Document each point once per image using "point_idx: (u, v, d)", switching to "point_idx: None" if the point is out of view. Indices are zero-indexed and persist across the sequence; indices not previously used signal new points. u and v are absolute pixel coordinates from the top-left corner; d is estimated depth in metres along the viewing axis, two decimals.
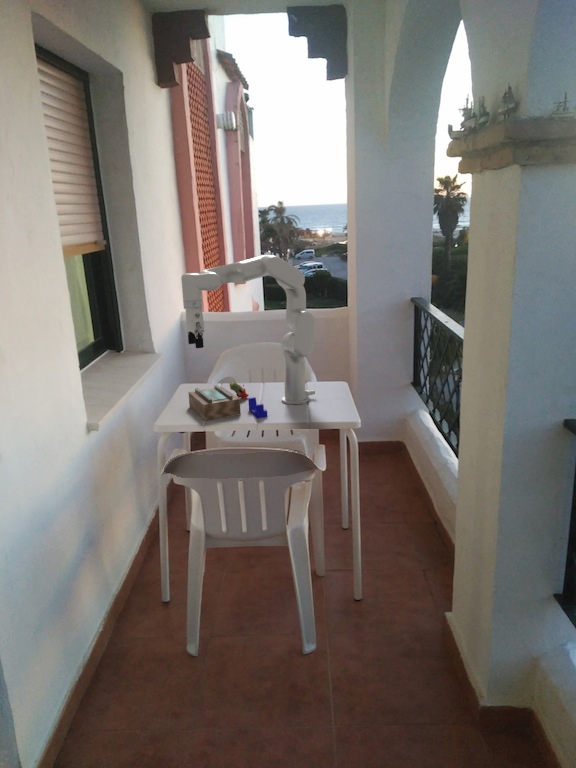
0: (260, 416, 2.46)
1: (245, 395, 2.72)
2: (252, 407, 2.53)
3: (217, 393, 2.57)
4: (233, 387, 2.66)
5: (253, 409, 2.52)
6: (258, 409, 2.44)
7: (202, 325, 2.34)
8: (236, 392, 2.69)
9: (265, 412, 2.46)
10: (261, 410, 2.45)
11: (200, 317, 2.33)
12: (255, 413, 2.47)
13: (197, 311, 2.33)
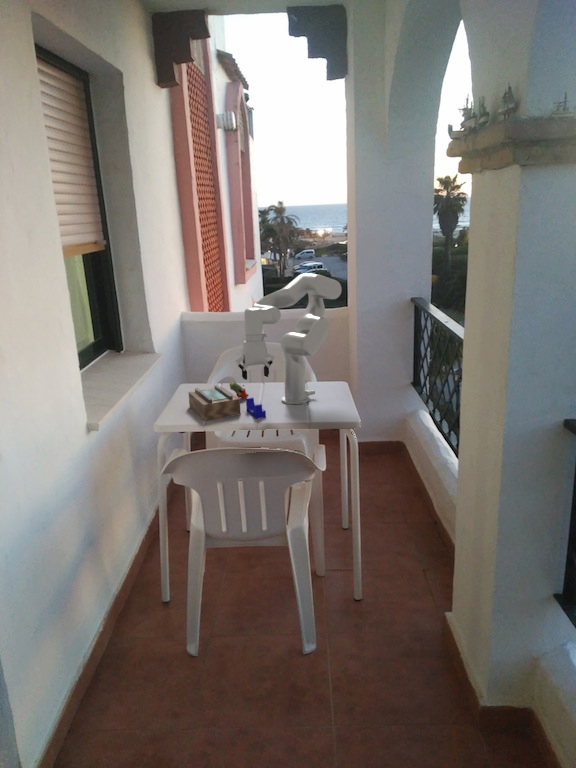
0: (259, 416, 2.45)
1: (245, 395, 2.72)
2: (250, 407, 2.52)
3: (217, 393, 2.57)
4: (233, 387, 2.66)
5: (251, 409, 2.51)
6: (257, 409, 2.44)
7: None
8: (236, 392, 2.69)
9: (263, 412, 2.46)
10: (259, 410, 2.45)
11: None
12: (253, 413, 2.46)
13: None
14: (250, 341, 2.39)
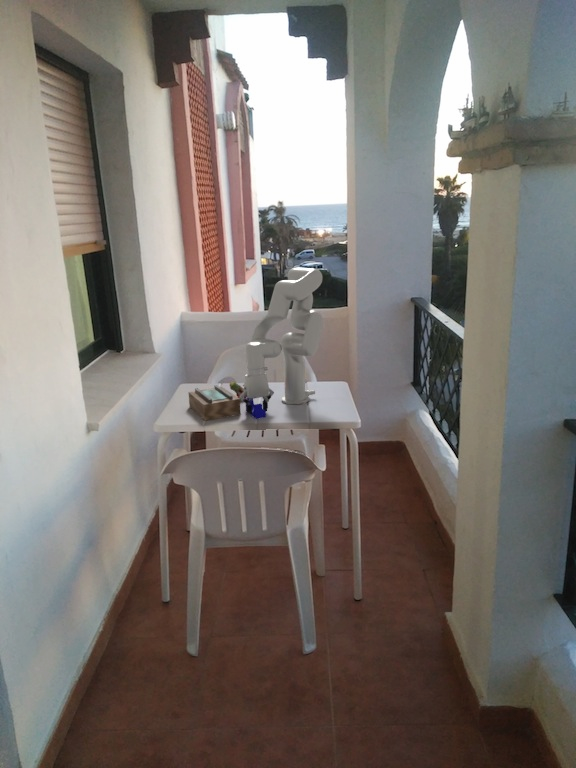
0: (259, 416, 2.45)
1: None
2: None
3: (217, 393, 2.57)
4: (233, 387, 2.66)
5: None
6: (257, 409, 2.44)
7: None
8: (236, 392, 2.69)
9: (264, 412, 2.46)
10: (260, 410, 2.45)
11: None
12: (253, 413, 2.46)
13: None
14: (252, 375, 2.43)
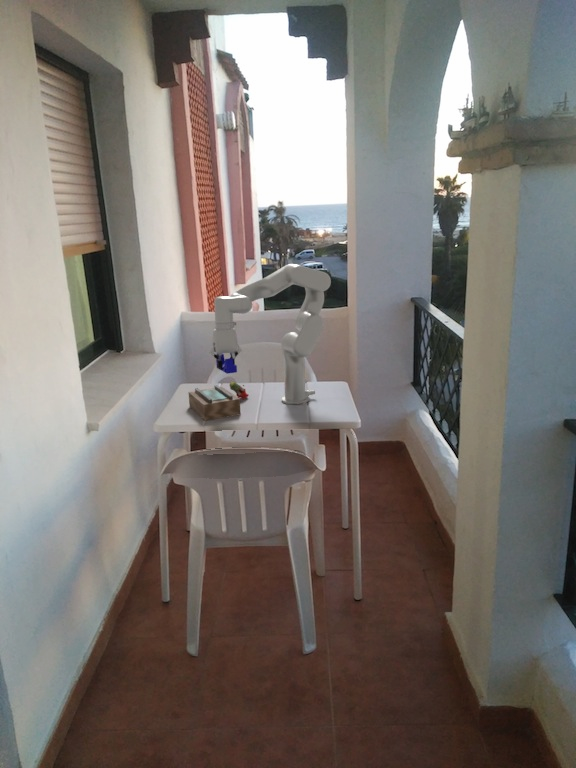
0: (230, 371, 2.44)
1: (245, 395, 2.72)
2: None
3: (217, 393, 2.57)
4: (233, 387, 2.66)
5: None
6: (228, 363, 2.43)
7: None
8: (236, 392, 2.69)
9: (235, 367, 2.45)
10: (231, 365, 2.44)
11: None
12: (224, 368, 2.45)
13: None
14: (220, 329, 2.42)
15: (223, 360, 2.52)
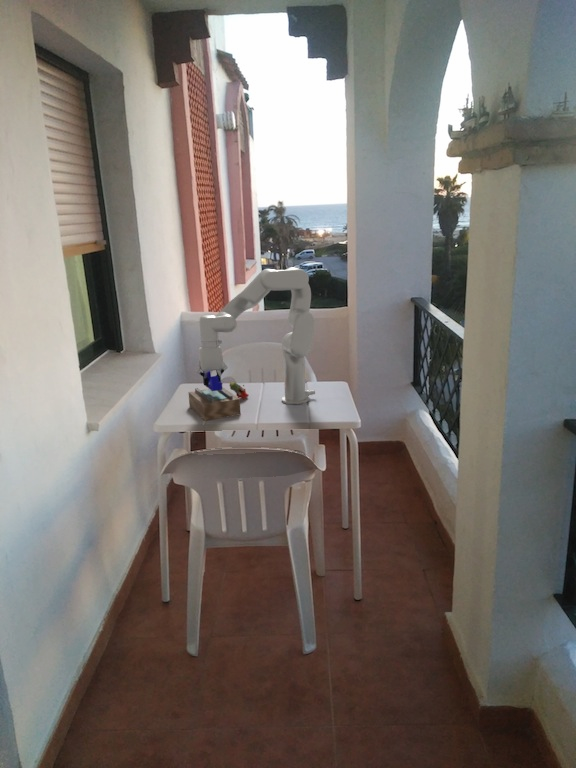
0: (215, 388, 2.49)
1: (245, 395, 2.72)
2: None
3: (217, 393, 2.57)
4: (233, 387, 2.66)
5: None
6: (213, 381, 2.47)
7: None
8: (236, 392, 2.69)
9: (220, 384, 2.49)
10: (216, 382, 2.48)
11: None
12: (210, 385, 2.50)
13: None
14: (205, 348, 2.46)
15: (210, 377, 2.57)
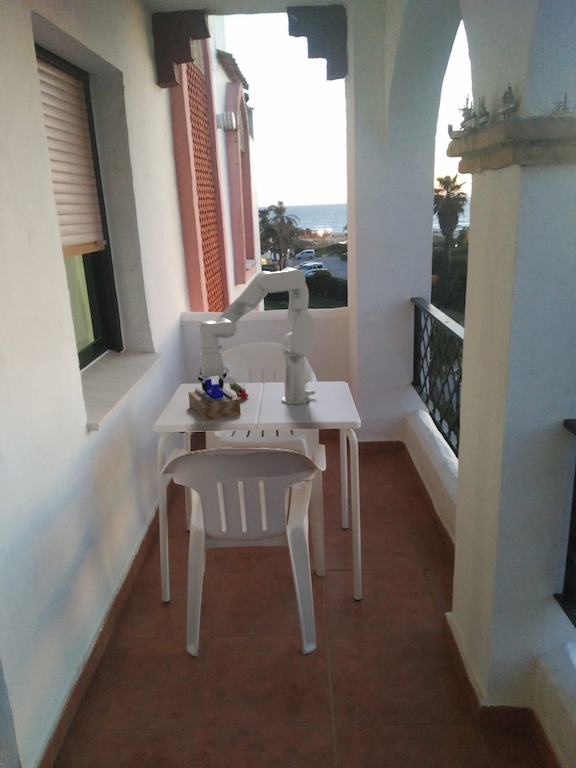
0: (216, 396, 2.49)
1: (245, 395, 2.72)
2: (208, 388, 2.56)
3: None
4: (233, 387, 2.66)
5: (209, 390, 2.56)
6: (214, 389, 2.48)
7: None
8: (236, 392, 2.69)
9: (221, 392, 2.50)
10: (217, 390, 2.49)
11: None
12: (211, 393, 2.51)
13: None
14: (206, 353, 2.47)
15: (210, 385, 2.58)
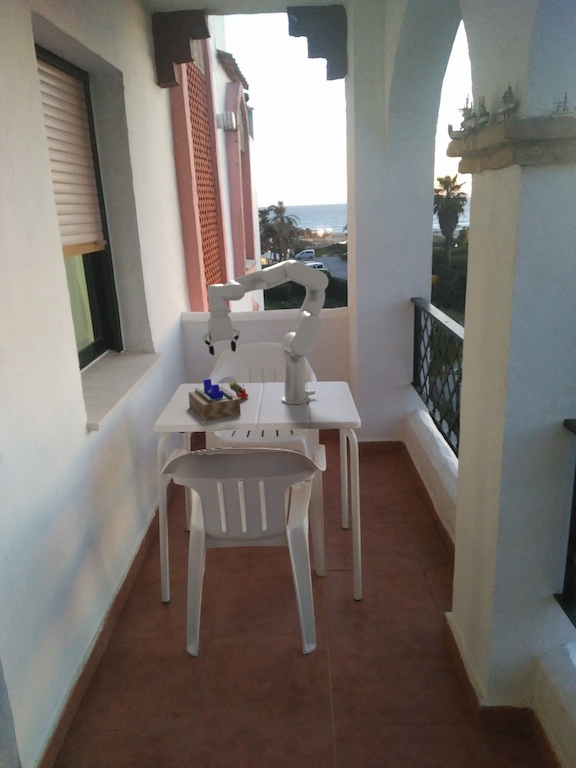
0: (216, 396, 2.49)
1: (245, 395, 2.72)
2: (207, 388, 2.56)
3: None
4: (233, 387, 2.66)
5: (208, 390, 2.56)
6: (214, 389, 2.48)
7: None
8: (236, 392, 2.69)
9: (221, 392, 2.50)
10: (217, 390, 2.49)
11: None
12: (211, 393, 2.51)
13: None
14: (214, 317, 2.44)
15: (210, 385, 2.58)
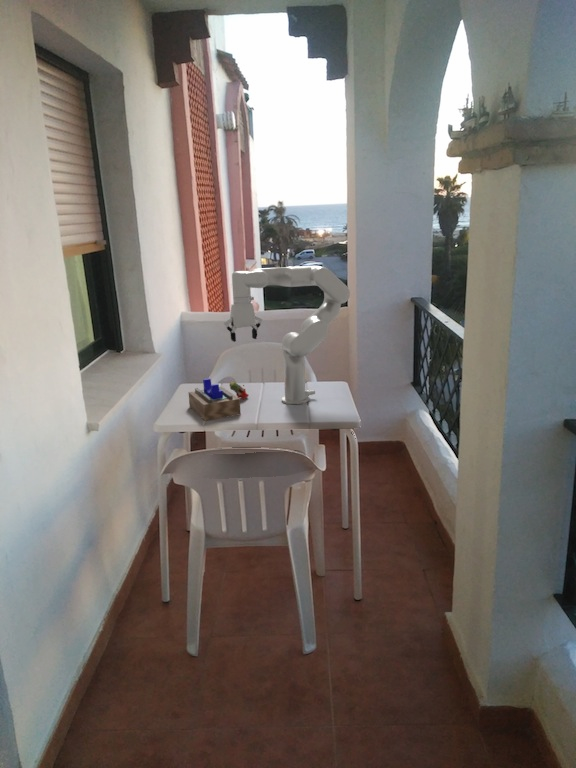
0: (215, 396, 2.49)
1: (245, 395, 2.72)
2: (207, 388, 2.56)
3: None
4: (233, 387, 2.66)
5: (208, 390, 2.55)
6: (213, 389, 2.48)
7: None
8: (236, 392, 2.69)
9: (220, 392, 2.50)
10: (216, 390, 2.49)
11: None
12: (210, 393, 2.51)
13: None
14: (238, 303, 2.46)
15: (210, 385, 2.58)
